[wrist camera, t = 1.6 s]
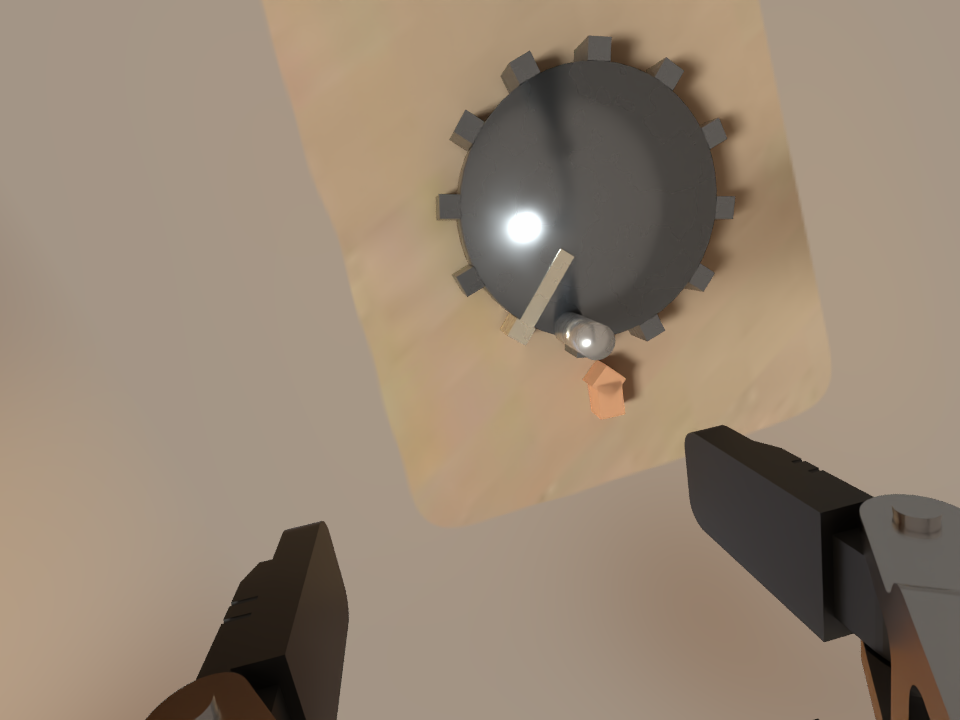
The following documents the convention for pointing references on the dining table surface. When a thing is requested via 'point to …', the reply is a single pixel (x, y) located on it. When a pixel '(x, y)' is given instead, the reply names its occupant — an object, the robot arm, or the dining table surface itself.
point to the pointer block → (605, 391)
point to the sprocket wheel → (586, 199)
